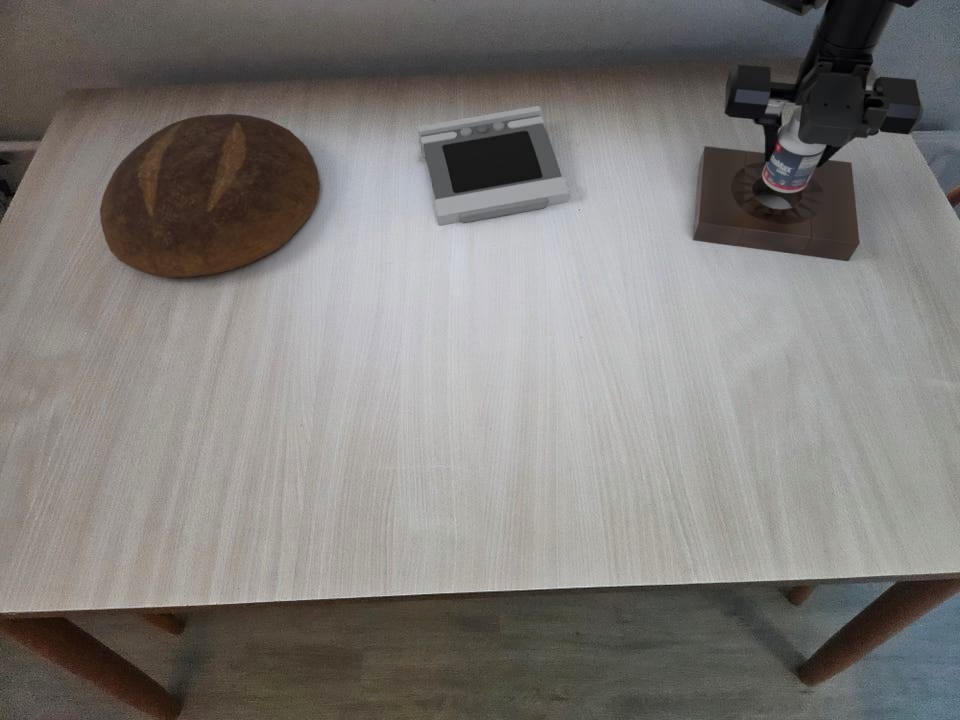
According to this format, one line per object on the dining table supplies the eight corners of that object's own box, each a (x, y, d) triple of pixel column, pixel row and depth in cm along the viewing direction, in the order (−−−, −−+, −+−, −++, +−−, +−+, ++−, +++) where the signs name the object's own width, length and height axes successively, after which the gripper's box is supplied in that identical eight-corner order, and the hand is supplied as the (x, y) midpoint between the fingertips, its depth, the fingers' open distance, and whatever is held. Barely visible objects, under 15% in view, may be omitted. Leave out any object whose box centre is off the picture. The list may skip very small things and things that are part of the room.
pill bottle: (752, 171, 78) (776, 107, 70) (789, 159, 79) (817, 95, 71) (778, 199, 75) (806, 136, 68) (816, 187, 76) (848, 123, 68)
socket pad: (841, 180, 83) (851, 162, 81) (848, 261, 76) (859, 243, 74) (699, 164, 86) (704, 146, 84) (692, 240, 79) (698, 222, 77)
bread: (82, 295, 79) (37, 246, 72) (136, 148, 94) (104, 95, 86) (311, 280, 79) (290, 230, 71) (330, 135, 93) (314, 81, 86)
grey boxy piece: (538, 105, 89) (571, 176, 79) (538, 135, 93) (569, 206, 83) (417, 126, 88) (435, 201, 78) (422, 155, 92) (439, 230, 82)
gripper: (746, 73, 59) (705, 200, 72) (969, 92, 56) (884, 222, 69) (748, 7, 65) (709, 136, 78) (950, 22, 62) (875, 153, 75)
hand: (791, 162), depth 75 cm, fingers closed on pill bottle, 5 cm apart
